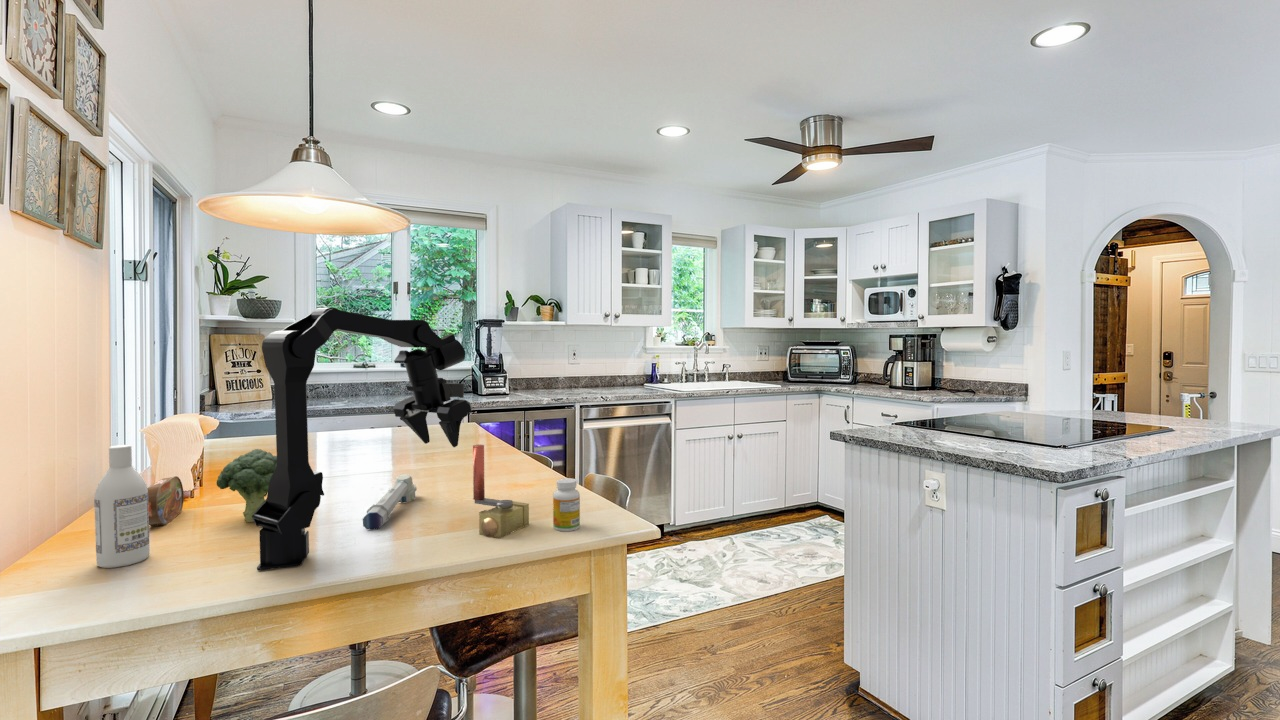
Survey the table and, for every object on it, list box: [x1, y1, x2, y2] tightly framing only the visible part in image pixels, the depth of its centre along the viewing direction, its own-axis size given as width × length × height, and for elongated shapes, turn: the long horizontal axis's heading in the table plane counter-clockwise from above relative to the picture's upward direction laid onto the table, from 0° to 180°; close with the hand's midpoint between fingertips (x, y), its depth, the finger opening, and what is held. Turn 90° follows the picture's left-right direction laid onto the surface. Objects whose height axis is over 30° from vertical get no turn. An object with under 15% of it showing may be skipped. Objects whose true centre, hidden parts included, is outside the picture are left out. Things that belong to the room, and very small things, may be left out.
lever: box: [472, 444, 513, 509], centre depth 120 cm, size 9×3×12 cm, turn 65°
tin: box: [147, 476, 185, 527], centre depth 126 cm, size 15×3×8 cm, turn 22°
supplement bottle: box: [552, 477, 581, 532], centre depth 121 cm, size 5×5×10 cm
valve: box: [478, 500, 530, 539], centre depth 119 cm, size 10×5×4 cm, turn 155°
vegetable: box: [216, 448, 277, 523], centre depth 125 cm, size 12×13×15 cm
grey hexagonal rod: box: [362, 473, 418, 530], centre depth 132 cm, size 5×7×25 cm
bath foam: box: [93, 444, 151, 569], centre depth 102 cm, size 7×7×20 cm
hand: (441, 444), depth 130 cm, fingers open, 9 cm apart
